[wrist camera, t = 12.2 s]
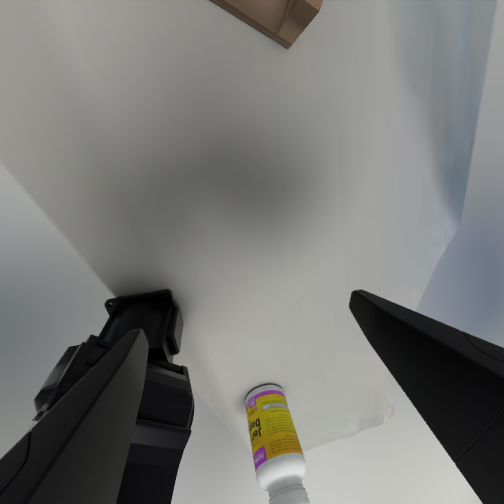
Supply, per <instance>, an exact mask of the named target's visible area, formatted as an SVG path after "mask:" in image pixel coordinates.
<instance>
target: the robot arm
mask: <svg viewBox="0 0 504 504" xmlns="http://www.w3.org/2000/svg"><path fill="white" fill-rule="evenodd" d="M166 294H167V295H169V296H166ZM109 303H111V304H113V305H111V304H109ZM105 307H106V310H107V312H108V314H109V316H110V317H109V319H108V321H107V322H106V324H105V326H104V328H103V329H102V331H101V333H100V335H99V336H98V337H97V336H94V335H90V337H89V338H88V339H87V341H86V342H82V344H80V345H77V346H71V347H69V348H68V349H67V350H66V352H65V353H64V355H63V356H62V358H61V359H60V360H59V362H58V363H57V365H56V366H55V368H54V369H53V371H52V372H51V374H50V375H49V377H48V378H47V380H46V381H45V383H44V384H43V386H42V388H41V389H40V391H39V392H38V394H37V396H36V397H35V399H34V404H35V408H36V413H35V415H34V417H33V419H32V420H33V423H32V425H31V427H30V429H29V431H28V433H26V435H24V437H22V439H21V440H19V441H18V442H17V443H16V444H15V445H14V447H12V449H10V450H9V452H7V453H6V454H5V455H4V456H3V457H2V458H1V459H0V504H171V499H172V495H173V490H174V485H175V480H176V476H177V471H178V468H179V464H180V461H181V458H182V454H183V451H184V449H185V446H186V444H187V442H188V439H189V437H190V434H191V425H192V421H193V416H194V399H193V394H192V389H191V384H190V379H189V374H188V369H187V367H185V366H182V365H181V366H179V365H176V364H173V356H174V355H176V354H178V353H179V352H180V345H181V337H182V329H183V321H182V317H181V313H180V310H179V307H177V306H175V302H174V299H173V295H172V292H171V291H169V290H165V291H158V292H152V293H145V294H139V295H132V296H126V297H119V298H112V299H108V300H107V301H106V302H105ZM349 308H350V310H351V312H352V314H353V316H354V317H355V319H356V321H357V323H358V324H359V326H360V328H361V330H362V331H363V333H364V335H365V337H366V338H367V340H368V341H369V343H370V344H371V346H372V347H373V349H374V350H375V351H376V353H377V354H378V356H379V357H380V358H381V360H382V361H383V363H384V364H385V366H386V367H387V368H388V370H389V371H390V373H391V374H392V375H393V377H394V378H395V380H396V381H397V382H398V384H399V385H400V386H401V388H402V390H403V391H404V392H405V394H406V395H407V397H408V398H409V399H410V401H411V402H412V404H413V405H414V407H415V408H416V409H417V411H418V412H419V414H420V415H421V416H422V418H423V419H424V421H425V422H426V424H427V425H428V426H429V428H430V429H431V431H432V432H433V433H434V435H435V436H436V438H437V439H438V440H439V442H440V443H441V445H442V446H443V448H444V449H445V450H446V452H447V453H448V455H449V456H450V457H451V459H452V460H453V462H454V463H455V465H456V466H457V468H458V469H459V470H460V472H461V473H462V474H463V476H464V477H465V479H466V480H467V482H468V483H469V485H470V486H471V487H472V489H473V490H474V492H475V493H476V494H477V496H478V497H479V499H480V500H481V501H482V503H483V504H504V348H503V347H500V346H498V345H495V344H492V343H490V342H487V341H485V340H482V339H480V338H478V337H475V336H473V335H470V334H468V333H466V332H463V331H460V330H458V329H456V328H453V327H451V326H448V325H446V324H444V323H441V322H439V321H436V320H434V319H432V318H429V317H427V316H424V315H422V314H420V313H417V312H415V311H413V310H410V309H408V308H405V307H403V306H401V305H398V304H396V303H393V302H391V301H388V300H386V299H384V298H381V297H379V296H376V295H374V294H372V293H369V292H367V291H364V290H355V291H353V292H352V293H351V298H350V302H349Z"/></svg>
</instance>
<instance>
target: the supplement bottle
mask: <svg viewBox="0 0 504 504" xmlns="http://www.w3.org/2000/svg"><path fill="white" fill-rule="evenodd" d="M245 405H246V413H247V419H248V426H249V432H250V439H251V445H252V452H253V458H254V464H255V471H256V478H257V481H258V483H259V485H260V486H261V487H262V488H263V489H264V490H266V491H268V492H269V497H270V500H269V502H270V503H269V504H310V503H309V499H308V495H307V492H306V491H305V488H304V487H303V484H302V478H303V476H304V474H305V471H306V462H305V459H304V456H303V452H302V449H301V446H300V443H299V440H298V436H297V433H296V430H295V427H294V424H293V421H292V417H291V414H290V411H289V408H288V405H287V401H286V398H285V395H284V392H283V390H282V389H281V388H280V387H278V386H275V385H264V386H261V387H258V388H256V389H254V390H253V391H251V392H250V393H249V395H248V396H247V398H246V401H245Z"/></svg>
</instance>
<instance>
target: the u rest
mask: <svg viewBox="0 0 504 504" xmlns="http://www.w3.org/2000/svg"><path fill="white" fill-rule="evenodd" d="M211 1H212V2H214V3H215V4H217V5H219V6H220V7H222V8H223V9H225V10H226V11H228V12H230V13H231V14H233V15H234V16H236V17H238V18H239V19H241V20H242V21H244V22H246V23H247V24H249V25H250V26H252V27H254V28H255V29H257V30H258V31H260V32H262V33H263V34H265V35H266V36H268V37H269V38H271V39H273V40H274V41H276V42H277V43H279V44H281V45H282V46H284V47H285V48H287V49H289V47H290V46H291V45H292V44H293V43H294V41H295V40H296V39H297V38H298V37H299V35H300V34H301V33H302V32H303V31H304V29H305V28H306V27H307V26H308V24H309V23H310V22H311V21H312V20H313V18H314V17H315V16H316V15H317V14H318V12H319V11H320V8H321V6H322V3H323V0H211Z"/></svg>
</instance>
